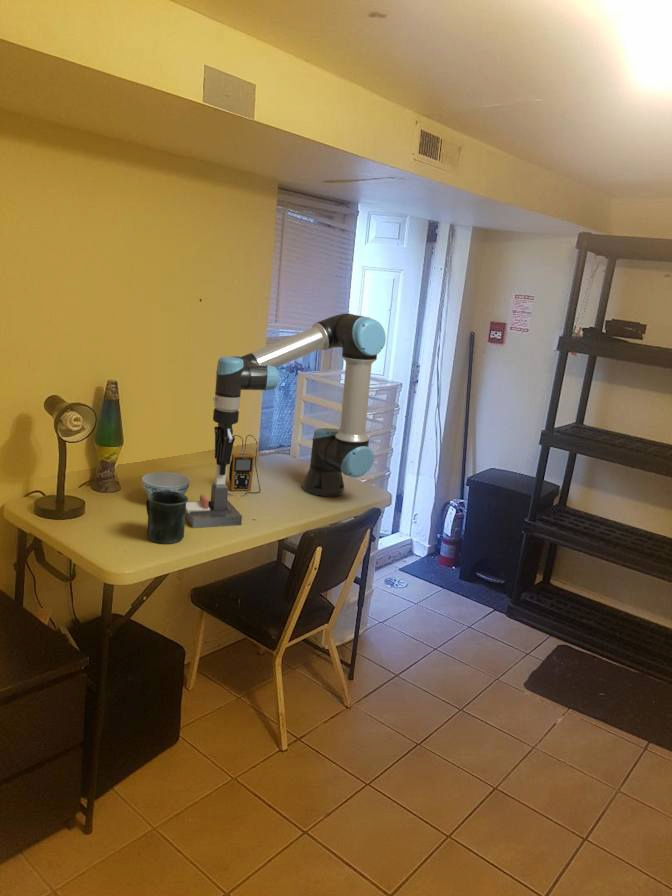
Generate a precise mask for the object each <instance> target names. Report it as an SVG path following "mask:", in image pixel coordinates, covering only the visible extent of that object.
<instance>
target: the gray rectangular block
mask: <svg viewBox="0 0 672 896" xmlns="http://www.w3.org/2000/svg"><path fill="white" fill-rule="evenodd" d="M228 493H229V487H228V486H227V484H226V483H225V484H221V485H217V484H216V483H215V482H213V484H211V490H210V501H211V502H210V508H211V509H212V510H226V509H227V500H228V497H229V496H228Z"/></svg>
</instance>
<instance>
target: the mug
mask: <svg viewBox="0 0 672 896" xmlns="http://www.w3.org/2000/svg"><path fill="white" fill-rule="evenodd" d="M186 502H189V498H188V496H186V494H184V495H183V494H181V493H178V492H172V491H159V492H154V493H151V494H149V495H148V494H147V500H146V504H145V505H146V507H145V508H146V514H147V529H146V535H147V538H148V539H149V540H150V541H151V542H154V543H157V544H164V545H165V544H167V545H170V544H171V545H172V544H177V543H178V542H181V541H182V540H184V537H185V528H186V527H185V523H186V517H185V513H186Z"/></svg>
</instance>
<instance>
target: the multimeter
mask: <svg viewBox="0 0 672 896" xmlns="http://www.w3.org/2000/svg"><path fill="white" fill-rule="evenodd" d="M232 436H234V437H235V436H236V437H239V438H240V439H241V441H242V443H241V444H242V445H241V451H240V452H239V453H237V452H236V453H235V452H232V453H231V459H230V464H229V470H228V471H229V472H228V481H229V487H228V489H230V490H231V492H235V491H238V492H239V491H240V492H242V491H246V492H245V493H242V494H241V495H240V496H239V494H235V496H237V497H239V498H242V497H243V496H245V495H246V494H249V493H250V494H258V493H261V485H260V480H259V477H258V476H259V475H258V471H257V469H258V468H257V453H258V448H256V449H255V455H254V454H253V453H247V450H246V449H247V438H248V436H250V437H252V438H253V439H254V440H255V442H256V444H258V441H257V439H256V438H255V437H254V435H251V434H247V436H246V437H245V444H244V439H243V437H242V436H241V435H237V434H235V435H233V434H232ZM254 467H255V472H256V477H257V482H258V490H259V491H256V492H251V490H252V482H253V473H254ZM228 495H229V496H234V493H230V492H228Z"/></svg>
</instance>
